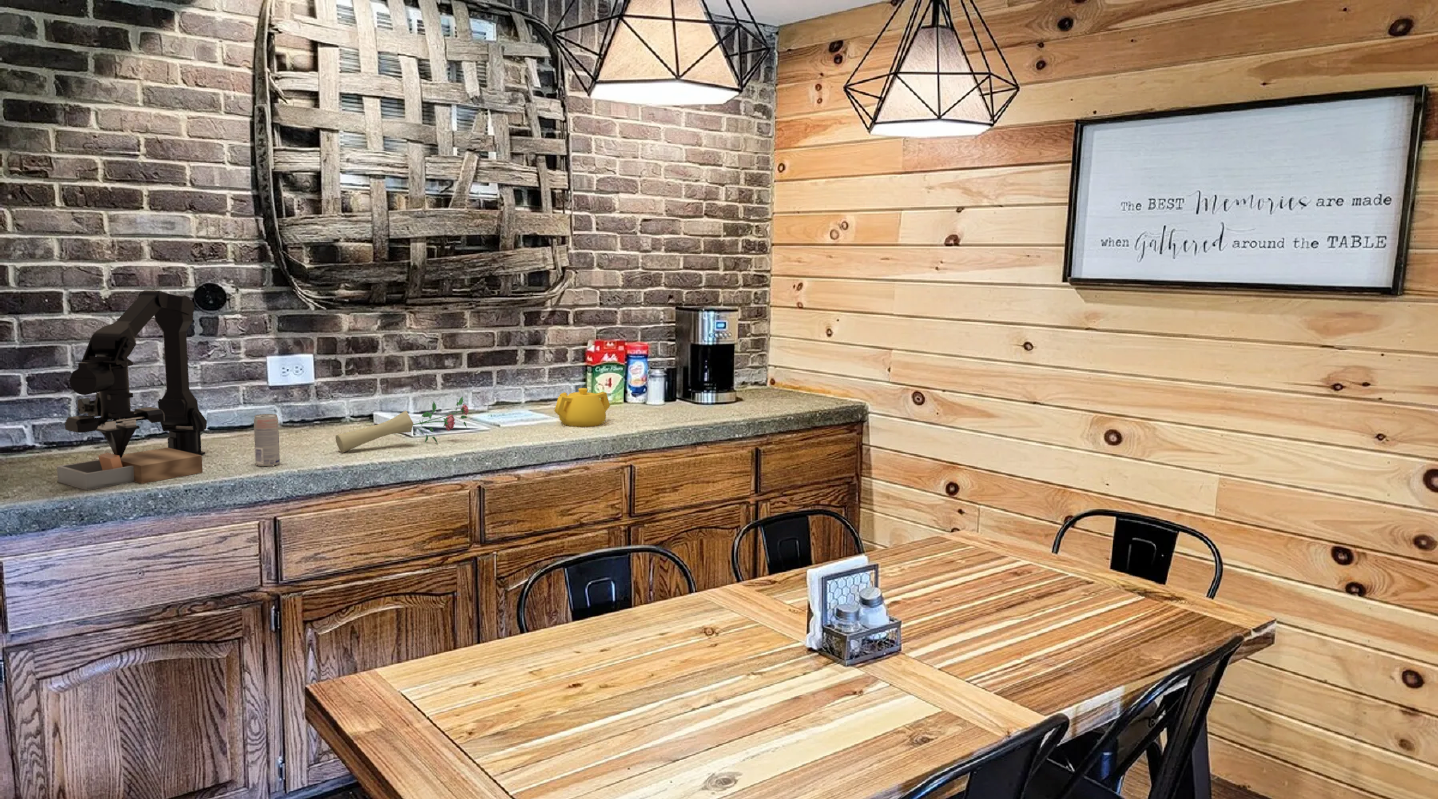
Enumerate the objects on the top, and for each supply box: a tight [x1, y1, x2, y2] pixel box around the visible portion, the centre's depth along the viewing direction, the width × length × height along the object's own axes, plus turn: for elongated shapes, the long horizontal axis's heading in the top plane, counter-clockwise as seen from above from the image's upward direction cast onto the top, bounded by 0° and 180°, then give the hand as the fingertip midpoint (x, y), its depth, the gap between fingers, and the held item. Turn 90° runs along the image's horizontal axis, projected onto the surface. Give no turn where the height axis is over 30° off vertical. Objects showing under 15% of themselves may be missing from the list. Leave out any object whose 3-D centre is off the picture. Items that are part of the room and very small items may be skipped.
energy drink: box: [253, 413, 281, 467], centre depth 242 cm, size 5×5×12 cm
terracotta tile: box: [97, 452, 123, 470], centre depth 223 cm, size 5×5×2 cm
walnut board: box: [120, 446, 204, 484], centre depth 230 cm, size 14×14×4 cm
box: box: [56, 459, 135, 491], centre depth 221 cm, size 10×12×4 cm
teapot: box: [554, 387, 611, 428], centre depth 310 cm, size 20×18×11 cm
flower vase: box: [335, 396, 470, 453], centre depth 269 cm, size 12×12×35 cm
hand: (118, 457), depth 223 cm, fingers closed
